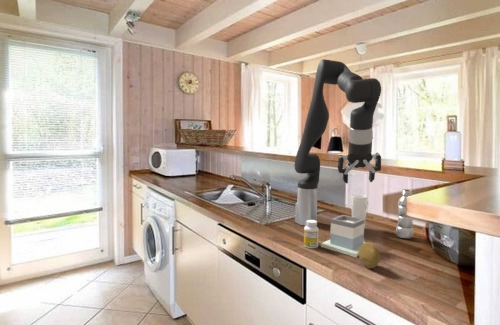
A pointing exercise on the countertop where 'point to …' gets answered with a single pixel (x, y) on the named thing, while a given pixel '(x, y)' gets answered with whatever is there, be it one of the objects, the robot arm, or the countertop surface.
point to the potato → (369, 255)
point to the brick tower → (346, 235)
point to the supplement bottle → (311, 234)
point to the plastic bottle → (404, 217)
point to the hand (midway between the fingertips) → (358, 181)
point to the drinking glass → (359, 206)
